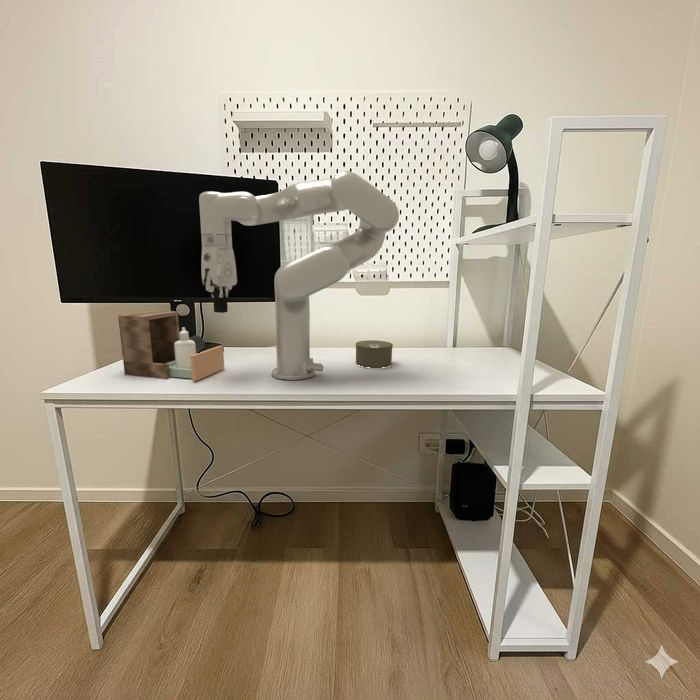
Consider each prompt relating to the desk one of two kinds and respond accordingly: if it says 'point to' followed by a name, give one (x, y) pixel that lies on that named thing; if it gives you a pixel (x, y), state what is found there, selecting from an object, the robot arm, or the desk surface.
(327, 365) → the desk surface
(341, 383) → the desk surface
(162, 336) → the cabinet
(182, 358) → the eye dropper bottle
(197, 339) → the end cap
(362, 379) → the desk surface
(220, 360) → the drawer
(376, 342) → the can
